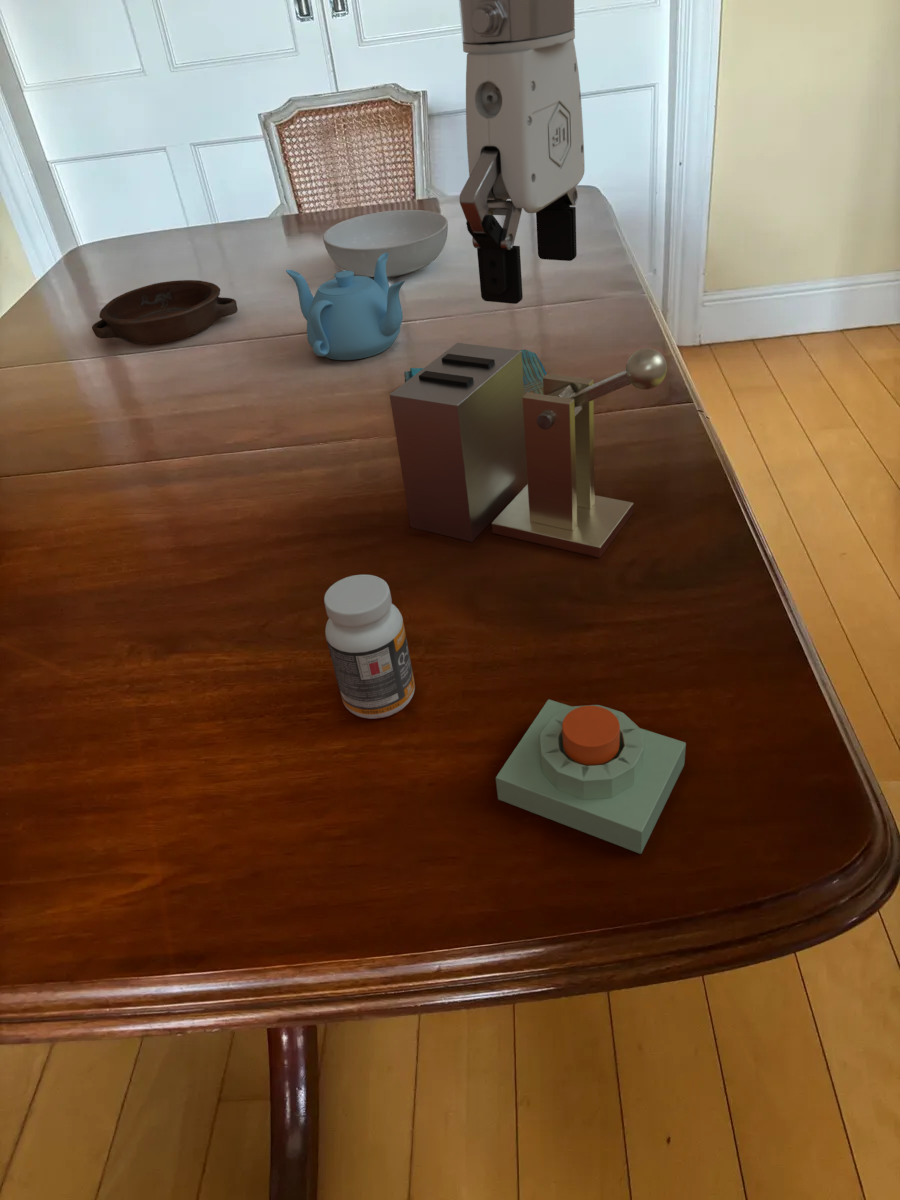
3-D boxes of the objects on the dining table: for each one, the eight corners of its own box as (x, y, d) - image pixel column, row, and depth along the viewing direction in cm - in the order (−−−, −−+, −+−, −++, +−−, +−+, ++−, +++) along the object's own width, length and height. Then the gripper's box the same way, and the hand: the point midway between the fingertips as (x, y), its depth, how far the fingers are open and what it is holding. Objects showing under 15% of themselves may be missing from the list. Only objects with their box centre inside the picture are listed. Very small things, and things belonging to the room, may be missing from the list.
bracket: (633, 513, 85) (636, 376, 77) (600, 558, 80) (599, 417, 71) (529, 492, 90) (521, 362, 82) (492, 533, 85) (479, 399, 76)
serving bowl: (313, 292, 147) (304, 249, 142) (352, 252, 162) (345, 212, 158) (435, 289, 142) (430, 244, 137) (463, 247, 157) (459, 206, 153)
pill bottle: (426, 706, 67) (408, 602, 61) (354, 732, 66) (328, 628, 60) (401, 661, 72) (383, 560, 66) (333, 685, 70) (307, 584, 64)
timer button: (627, 734, 58) (628, 715, 57) (606, 772, 56) (606, 753, 55) (576, 717, 60) (576, 699, 59) (553, 754, 57) (552, 735, 56)
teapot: (308, 375, 120) (292, 299, 113) (299, 336, 131) (284, 265, 125) (415, 355, 121) (405, 279, 115) (397, 318, 133) (387, 247, 127)
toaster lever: (679, 371, 72) (661, 335, 71) (665, 387, 70) (646, 351, 69) (562, 420, 80) (545, 389, 79) (547, 436, 78) (529, 404, 77)
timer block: (684, 765, 60) (687, 723, 58) (641, 854, 55) (642, 812, 53) (549, 720, 65) (547, 680, 62) (497, 799, 60) (493, 758, 57)
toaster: (529, 480, 92) (521, 346, 83) (472, 542, 84) (457, 400, 75) (470, 469, 95) (456, 338, 86) (410, 527, 87) (388, 390, 78)
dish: (99, 325, 145) (88, 295, 142) (235, 299, 148) (227, 268, 145) (95, 364, 131) (83, 331, 128) (244, 334, 135) (236, 301, 132)
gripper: (508, 36, 52) (525, 324, 62) (619, -2, 63) (618, 247, 74) (400, 43, 55) (433, 315, 66) (524, 5, 67) (535, 242, 77)
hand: (530, 279), depth 70 cm, fingers open, 9 cm apart
